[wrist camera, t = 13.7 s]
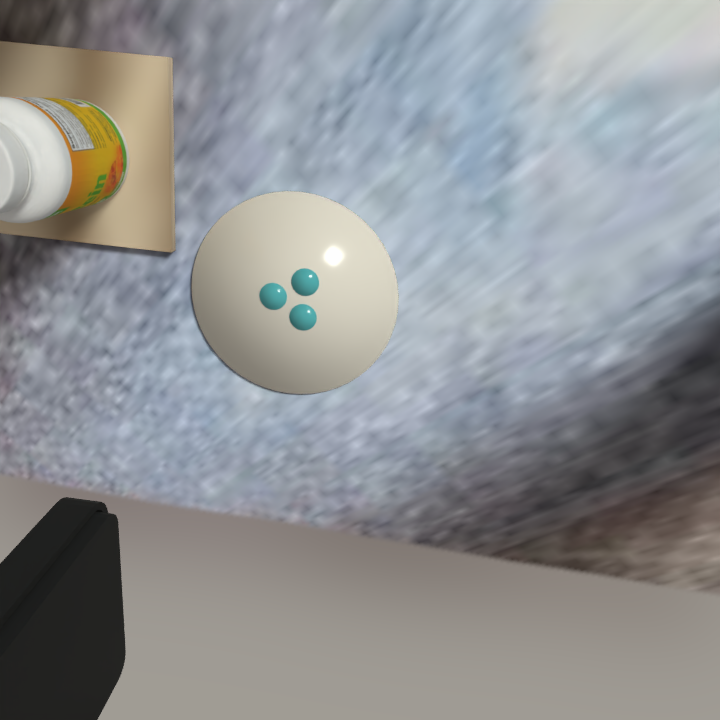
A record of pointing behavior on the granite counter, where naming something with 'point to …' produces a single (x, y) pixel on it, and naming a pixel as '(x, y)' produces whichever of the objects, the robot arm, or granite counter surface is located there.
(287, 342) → the coaster
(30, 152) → the supplement bottle
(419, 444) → the granite counter surface
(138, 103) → the wooden mat
